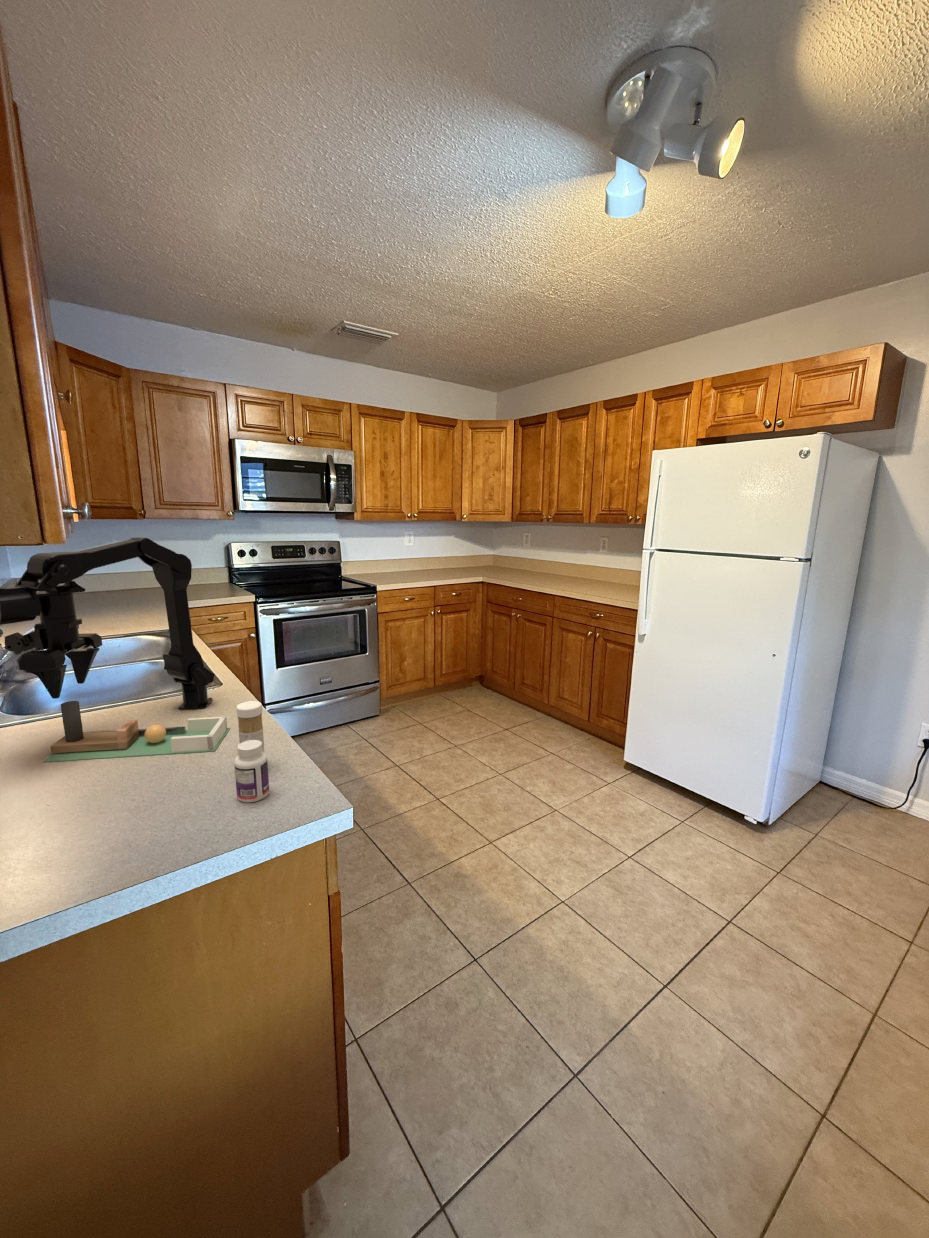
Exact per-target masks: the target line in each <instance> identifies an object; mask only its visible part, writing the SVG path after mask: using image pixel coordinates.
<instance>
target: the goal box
mask: <svg viewBox="0 0 929 1238" xmlns="http://www.w3.org/2000/svg"><path fill="white" fill-rule="evenodd" d="M186 721H187V722H186V723H187V730H188V732H205V731H211V732H210V733H209V735H196V736H178V737H172V738H171V747H172V752H184V751H200V750H213V749H214V748H215V746H216V745H217V743H218V742H219V740H220V739H221V737H222V736H223V734H224V732H225V731H226V729H227V728H228V725H227V724H228V723H227V722H228V721H227V716H209V717H189V718H187V720H186Z"/></svg>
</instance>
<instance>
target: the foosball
mask: <svg viewBox="0 0 929 1238" xmlns="http://www.w3.org/2000/svg"><path fill="white" fill-rule="evenodd" d="M165 728H166V727H165V726H163V725H162V724H152V725H149V726H148V727H147V728H145V729H146V731H145V739H146V740H147V741H148V742H150V743H159V742H161V741H162V740H163V739H164V738H165V736H166V730H165Z"/></svg>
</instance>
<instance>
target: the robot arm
mask: <svg viewBox="0 0 929 1238" xmlns="http://www.w3.org/2000/svg"><path fill="white" fill-rule="evenodd" d="M135 558H138V559H139V560H140V561H141V562H142V563H144V564H145V565H146V566H147V565H148V566H149V567H150V568H152V572H153V575H154V578H155V579H156V581H157V583H158V585H159V586H160V587H161V589H162V590H163V595H164V601H165V602H164V603H165V609H166V617H167V618H166V619H167V623H168V631H169V638H170V649H169V650H168V653H164V654H162V659H163V662H164V666H163V670H165V671H166V673H167V675H168V676H170V677H172V680H173V681H174V683H179V684H181V692H182V693H181V694H182V703H181V704H180V705H179V706H178V710H191V709H195V710H196V709H206V708H207V707H208V706H209V705H210V703H211V702H212V701H213V697H209V696H208V685H209V684H212V683H213V682H214V678H215V673H213V672H212V671H211V670H209V668H206V667H205V664H204V662H203V658H202V655H201V653H200V651H198V649H197V647H196V646H195V644H194V639H193V631H192V623H191V621H192V620H191V616H190V607H189V599H188V590H187V589H188V586H189V584H190V582H191V580H192V571H193V569H192V568H193V567H192V566H193V565H192V561H191V559H190V558H189V557H188V556H187V555H185V554H183V553H177V552H175V551H174V550H171V549H170V548H168V547H165V546H162V545H160V544H158V543H157V542H155V541H153V540H152V539H151V538H147V537H136V536H135V537H130V538H129V539H126V540H123V541H118V542H113V543H110V544H109V543H108V544H105V545H100V546H95V547H92V548H86V549H83V550H79V551H56V552H55V551H54V552H41V553H35V554H33V555H31V556H30V557H29V559H28V561H27V565H26V570H25V571H24V573H23V574H22V575H21V577H20V578H19V580H18V581H17V582H16V584H15V585H14V586H11V587H0V626H3V625H10V624H17V623H23V622H29V621H34V620H36V618H37V617H39V619H40V620H39V621H40V622H38V623H35V625H34V626H33V629H34V631H32V632H30V633H27V634H22V633H20V632H18V631H17V632H15V633H11V634H8V635H5V636H4V650H6V651H8V652H13V653H14V655H15V656H19V655H20V656H19V657H18V658H17V659H16V663H17V670H19V671H23V672H25V673H30V674H32V675H34V676H36V677H37V678H38V679H39V681H40V682H41V684H43V686H44V687H45V689H46V691H47V692H48V694H49V696H50V697H51V699H55V700H57V699H59V698H60V697H61V693H62V689H63V684H64V679H65V676H66V671H67V666H68V665H67V664H65V662H66V657H67V658H68V659H69V660H70V663H71V665H72V669H73V670H72V671H73V673H74V677H75V680H76V682H77V684H79V685H82V684H85V681H86V680H87V677H88V674H89V672H90V670H91V667H92V665H93V663H94V660H95V658H96V656H97V654H98V652H99V651H100V647H102V646H103V640H102V636H100V635H99V634H98V633H90V632H89V633H79V625H82V624H83V620H82V618H78V617H77V611H76V610H77V609H76V603H75V596H74V594H76V593H85V592H86V588H85V587H82V586H81V585H79V584H78V583H77V582H76V581H75V580H76V579H79V578H80V577H83V576H84V575H85V574H87V572H90V571H92V570H94V569H97V568H100V567H105V566H108V565H112V564H116V563H120V562H125V561H127V560H132V559H135ZM60 584H61V585H60ZM33 649H35V650H33ZM27 651H28V652H27ZM23 652H26V653H23ZM22 653H23V654H22Z"/></svg>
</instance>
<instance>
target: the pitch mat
mask: <svg viewBox="0 0 929 1238" xmlns="http://www.w3.org/2000/svg"><path fill="white" fill-rule="evenodd" d="M230 729H231V727H227V729H226V731H225V732H224V734H223V736H222V737H221V739H220V740H219V742H218V743H217V745H216V746H215V748H214V749H213V750H200V751H184V752H172V747H171V738H172V737H178V736H196V735H209V733H210V732H211V731H205V732H188V729H186V733H185V734H179V735H166V736H165V738H164V739H163V740H162V741H161V742H159V743H150V742H148V741H147V740H146V739H145V736H144V737H138V738H137V739H136V740H135V741H134V742H133V743H132V744H131V745H130V746H129V747H128V748H127V749H113V750H97V751H81V752H64V753H51V754H50V755H49V756H48V757H46V758H45V759H44V760H42V761H41V763H55V762H70V761H83V760H84V761H85V760H86V761H87V760H102V759H103V760H104V759H116V758H131V757H132V758H133V757H147V756H149V757H150V756H167V755H180V754H196V753H211V752H216V751H217V749H218V748H219V746H220V744H221V743H222V741H223V740H224V738H225V737H226V735H227V734H228V732H229V730H230Z"/></svg>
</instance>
